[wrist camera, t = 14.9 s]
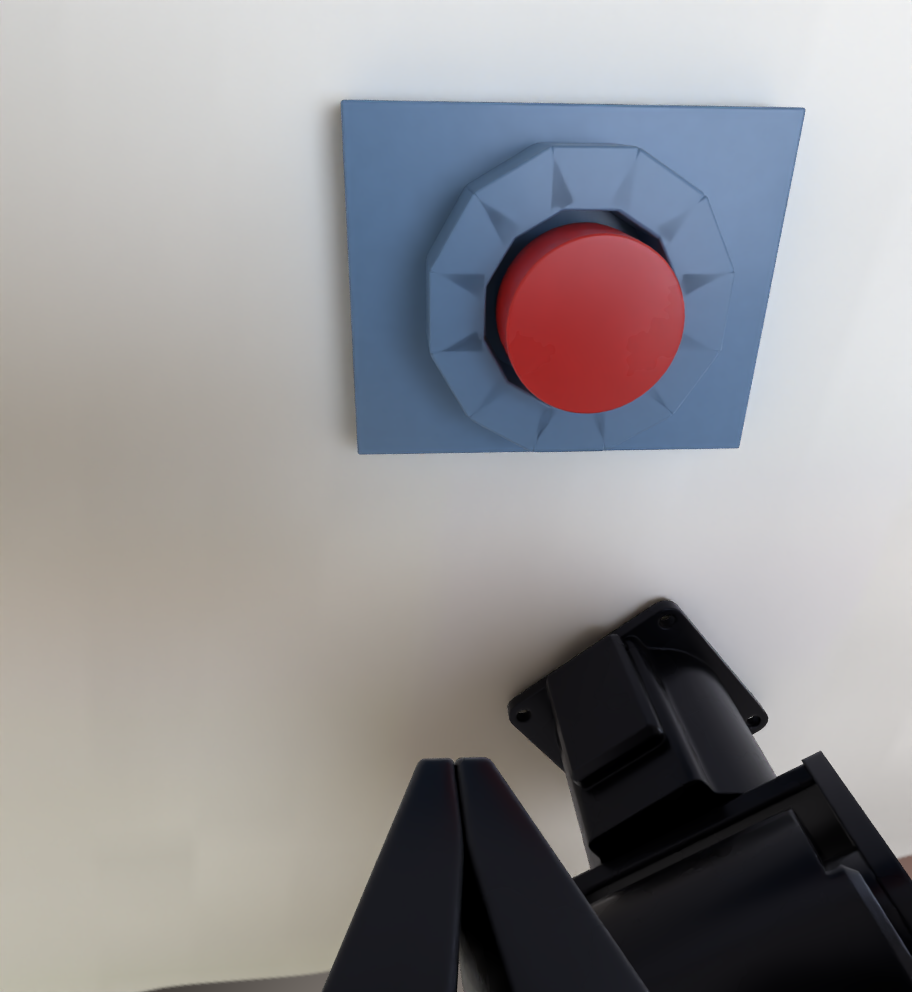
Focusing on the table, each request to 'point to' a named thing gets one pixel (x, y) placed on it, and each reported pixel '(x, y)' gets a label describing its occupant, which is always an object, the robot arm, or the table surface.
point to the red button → (589, 317)
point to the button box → (524, 216)
